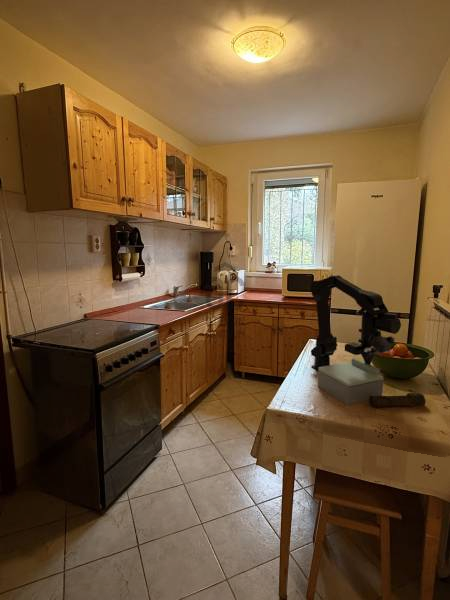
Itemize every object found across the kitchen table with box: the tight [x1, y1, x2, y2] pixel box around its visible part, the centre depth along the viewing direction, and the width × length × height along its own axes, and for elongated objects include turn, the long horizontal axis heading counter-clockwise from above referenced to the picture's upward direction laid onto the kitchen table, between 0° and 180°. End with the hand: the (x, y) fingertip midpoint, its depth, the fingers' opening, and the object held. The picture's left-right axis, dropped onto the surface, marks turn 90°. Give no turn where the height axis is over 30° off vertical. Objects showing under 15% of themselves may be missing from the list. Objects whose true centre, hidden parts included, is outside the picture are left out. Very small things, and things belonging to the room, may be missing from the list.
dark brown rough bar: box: [368, 392, 426, 409], centre depth 108 cm, size 19×4×5 cm, turn 89°
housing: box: [317, 370, 384, 406], centre depth 119 cm, size 16×16×6 cm
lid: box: [317, 357, 384, 387], centre depth 118 cm, size 16×16×3 cm
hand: (367, 366), depth 122 cm, fingers closed
